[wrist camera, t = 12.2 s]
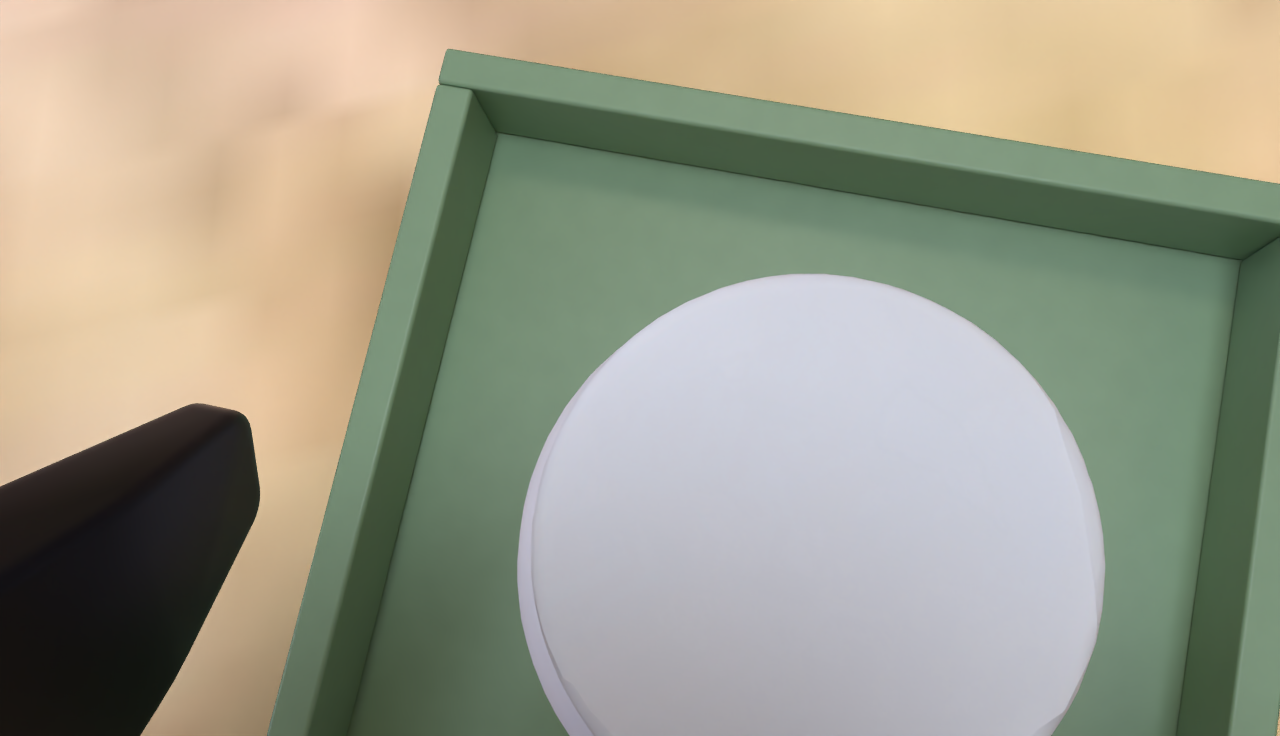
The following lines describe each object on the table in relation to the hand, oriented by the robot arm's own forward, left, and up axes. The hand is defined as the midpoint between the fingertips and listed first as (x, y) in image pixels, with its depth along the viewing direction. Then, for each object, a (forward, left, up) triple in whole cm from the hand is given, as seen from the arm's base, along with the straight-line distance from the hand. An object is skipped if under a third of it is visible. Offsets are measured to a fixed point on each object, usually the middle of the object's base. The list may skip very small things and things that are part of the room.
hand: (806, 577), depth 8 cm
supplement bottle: (0, 0, -9) cm, 9 cm away
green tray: (0, 0, -10) cm, 10 cm away
